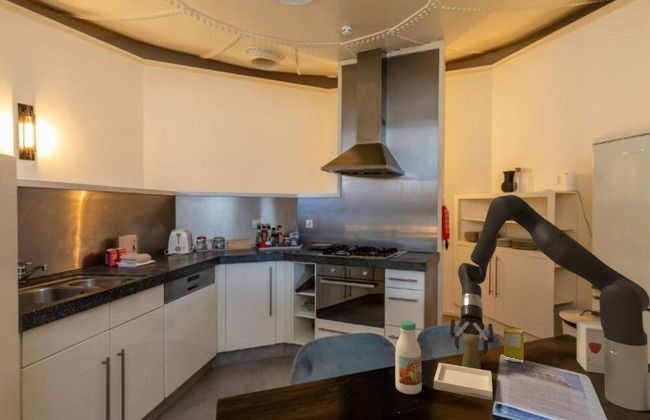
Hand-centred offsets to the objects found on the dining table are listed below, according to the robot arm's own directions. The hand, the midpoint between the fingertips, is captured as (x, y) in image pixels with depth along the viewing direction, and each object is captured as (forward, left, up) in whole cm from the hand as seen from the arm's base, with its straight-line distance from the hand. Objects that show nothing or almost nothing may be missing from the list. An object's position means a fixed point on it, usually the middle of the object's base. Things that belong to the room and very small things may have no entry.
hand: (471, 350), depth 118 cm
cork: (0, 0, -6) cm, 6 cm away
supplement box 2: (-39, -16, -6) cm, 43 cm away
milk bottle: (+17, +24, -6) cm, 30 cm away
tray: (+2, +14, -6) cm, 15 cm away
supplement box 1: (-14, -13, -6) cm, 20 cm away
